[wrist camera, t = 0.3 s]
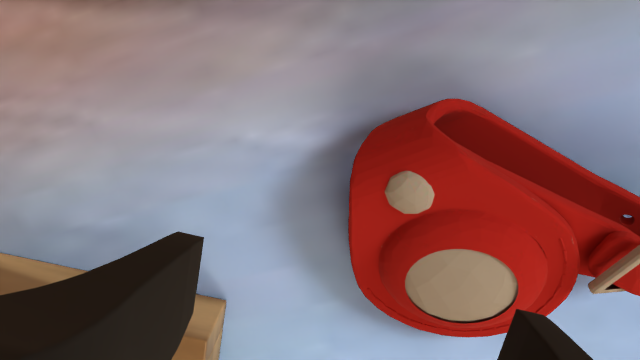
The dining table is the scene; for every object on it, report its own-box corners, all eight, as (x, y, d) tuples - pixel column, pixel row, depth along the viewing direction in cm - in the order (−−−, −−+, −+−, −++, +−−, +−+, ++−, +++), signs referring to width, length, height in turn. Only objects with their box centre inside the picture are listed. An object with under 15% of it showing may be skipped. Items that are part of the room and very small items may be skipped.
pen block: (212, 405, 28) (193, 455, 25) (-88, 340, 28) (-141, 382, 25) (227, 299, 25) (207, 341, 23) (-98, 231, 26) (-156, 263, 23)
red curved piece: (409, 381, 24) (274, 214, 20) (415, 298, 28) (302, 138, 23) (751, 322, 19) (676, 71, 14) (707, 227, 22) (635, -1, 18)
